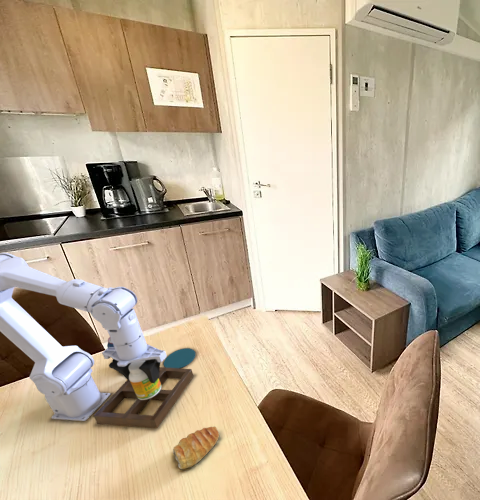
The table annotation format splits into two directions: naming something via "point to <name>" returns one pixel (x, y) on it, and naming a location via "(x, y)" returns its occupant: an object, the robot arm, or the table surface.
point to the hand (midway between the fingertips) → (144, 379)
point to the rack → (144, 401)
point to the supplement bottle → (142, 382)
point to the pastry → (195, 446)
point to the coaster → (180, 358)
